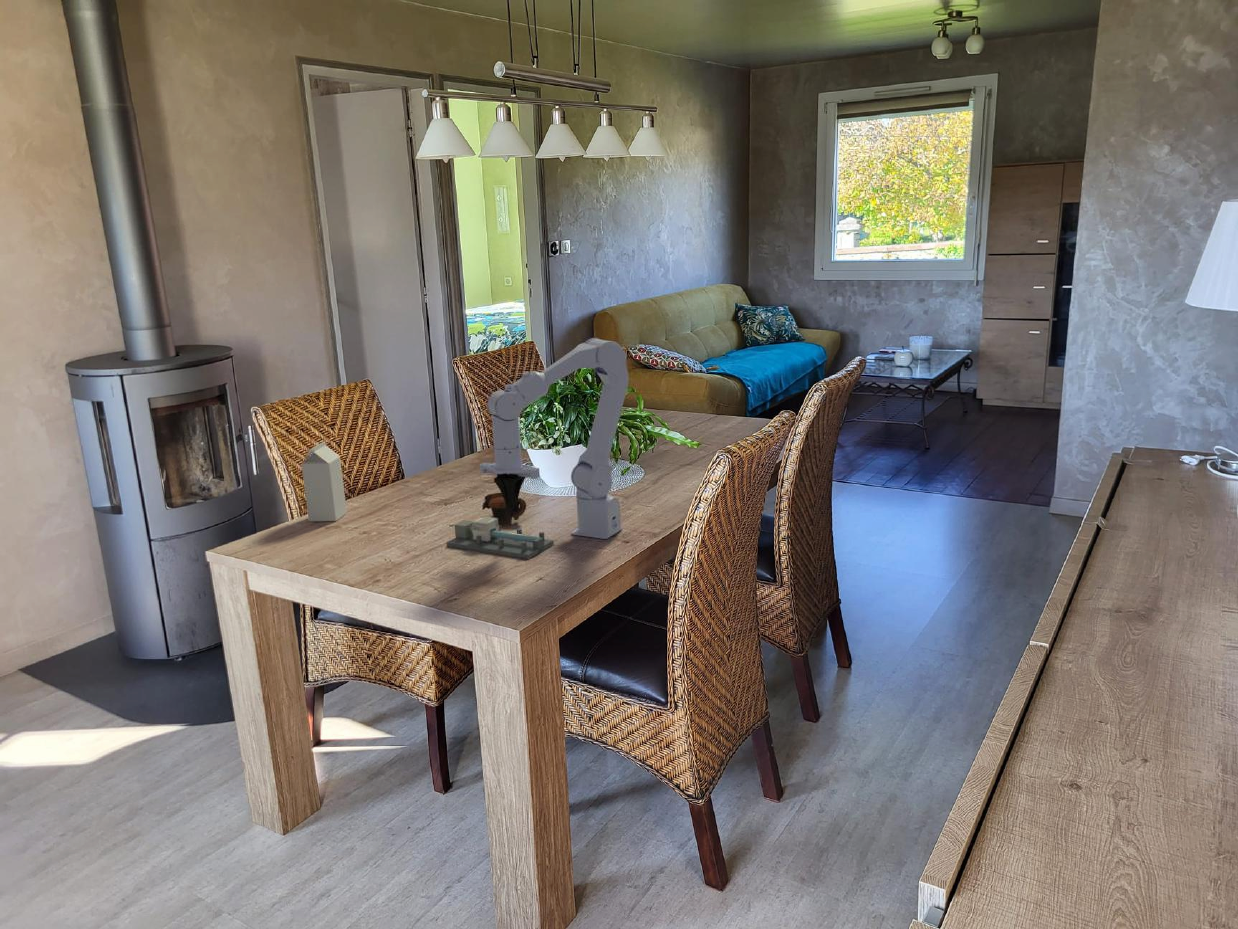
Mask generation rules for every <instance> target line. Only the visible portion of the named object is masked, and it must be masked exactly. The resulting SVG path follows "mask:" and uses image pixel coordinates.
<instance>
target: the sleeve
mask: <svg viewBox="0 0 1238 929" xmlns="http://www.w3.org/2000/svg"><path fill="white" fill-rule="evenodd" d="M472 521H473V522H472V527H473V538H474V539H475V540H476V536H478V535H481V539H482V541H490V540H491V537H490V530H494V531H499V527H498V526H499V525H498V518H493V517H491V516H482V517H479V518H477V519H475V520H472Z"/></svg>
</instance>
